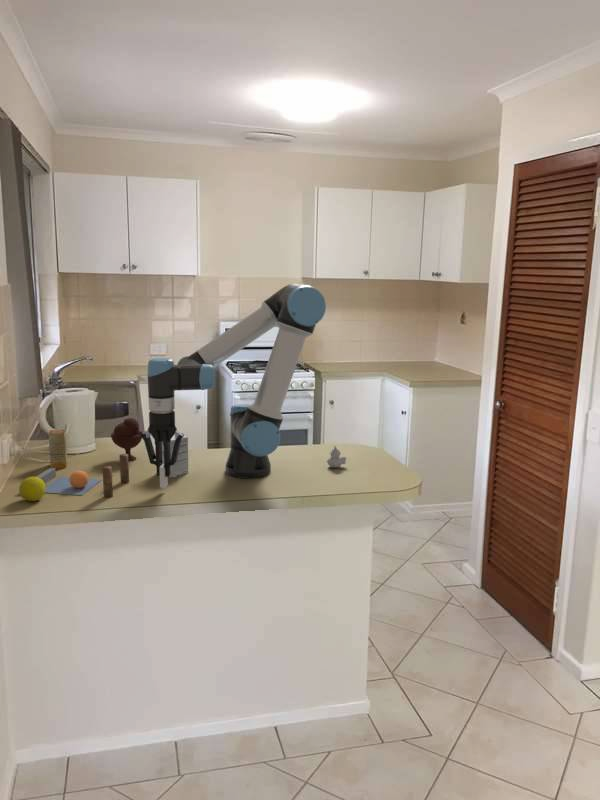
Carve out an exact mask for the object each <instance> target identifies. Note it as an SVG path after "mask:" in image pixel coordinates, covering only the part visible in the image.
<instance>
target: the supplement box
mask: <svg viewBox="0 0 600 800" xmlns="http://www.w3.org/2000/svg"><path fill="white" fill-rule="evenodd" d="M175 440H176V439H175V434H174V436H173V437H172V438H171V442H170V455H171V456H172V452H173V447H174V443H175ZM162 462H163V463H162V464H164V445H163V441H162ZM184 473H186V474H189V437H188V436H186V435H184V437H183V438H182V440H181V443H180V448H179V452H178V457H177V461H176V463H175V464H174V465H171V466H170V476H169V478H171V477H172V478H174V476H175V477H178V476H177V475H179V476H182V475H181V474H183V475H185V474H184Z"/></svg>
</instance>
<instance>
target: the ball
mask: <svg viewBox="0 0 600 800" xmlns="http://www.w3.org/2000/svg"><path fill="white" fill-rule="evenodd" d="M69 477H70V479H69V481H70V484H71V485H72V486H73V487H74V488H78V489H79V488H83V487H85V486H86V485H87V483H88V479H89V476H88V474H87V472H86V471H83V470H75V471H73V472H72V473H71V474H70V476H69Z"/></svg>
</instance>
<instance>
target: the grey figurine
mask: <svg viewBox="0 0 600 800" xmlns="http://www.w3.org/2000/svg"><path fill="white" fill-rule="evenodd" d="M341 454H342V453H341V451H340V450H339V449H338V448H337V447H336V445H334V446H333V448H331V451H330V452H329V455H330V457H328V458H327V460H326V463H327V464H328V466H329V467H330V468H332V469H338V468H340V467H342V465H345V464H346V463H347V462H346V460H347V457H346V456H344V455H343V456H341Z"/></svg>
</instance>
